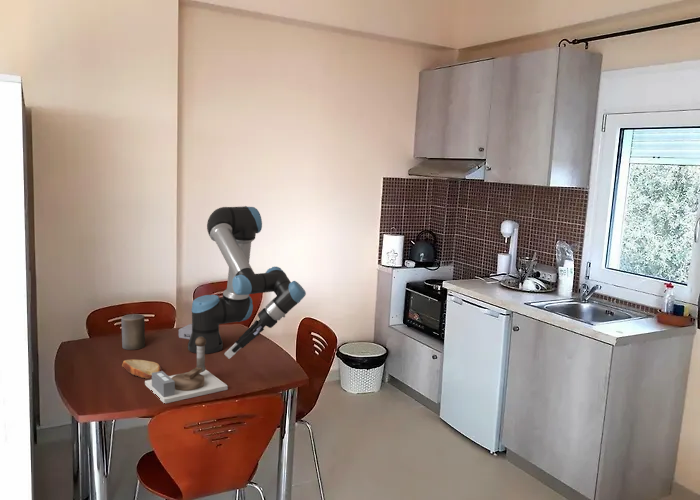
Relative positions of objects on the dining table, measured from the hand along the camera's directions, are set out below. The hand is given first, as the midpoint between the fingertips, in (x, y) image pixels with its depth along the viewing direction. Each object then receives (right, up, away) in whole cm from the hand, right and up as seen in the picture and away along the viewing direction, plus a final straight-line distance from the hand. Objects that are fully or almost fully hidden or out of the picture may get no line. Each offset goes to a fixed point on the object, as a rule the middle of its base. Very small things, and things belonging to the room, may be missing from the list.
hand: (227, 356), depth 230 cm
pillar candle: (-49, -2, +36) cm, 61 cm away
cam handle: (-12, -9, -5) cm, 16 cm away
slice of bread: (-36, -8, +8) cm, 38 cm away
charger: (-27, 0, +57) cm, 62 cm away
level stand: (-14, -11, -6) cm, 19 cm away
